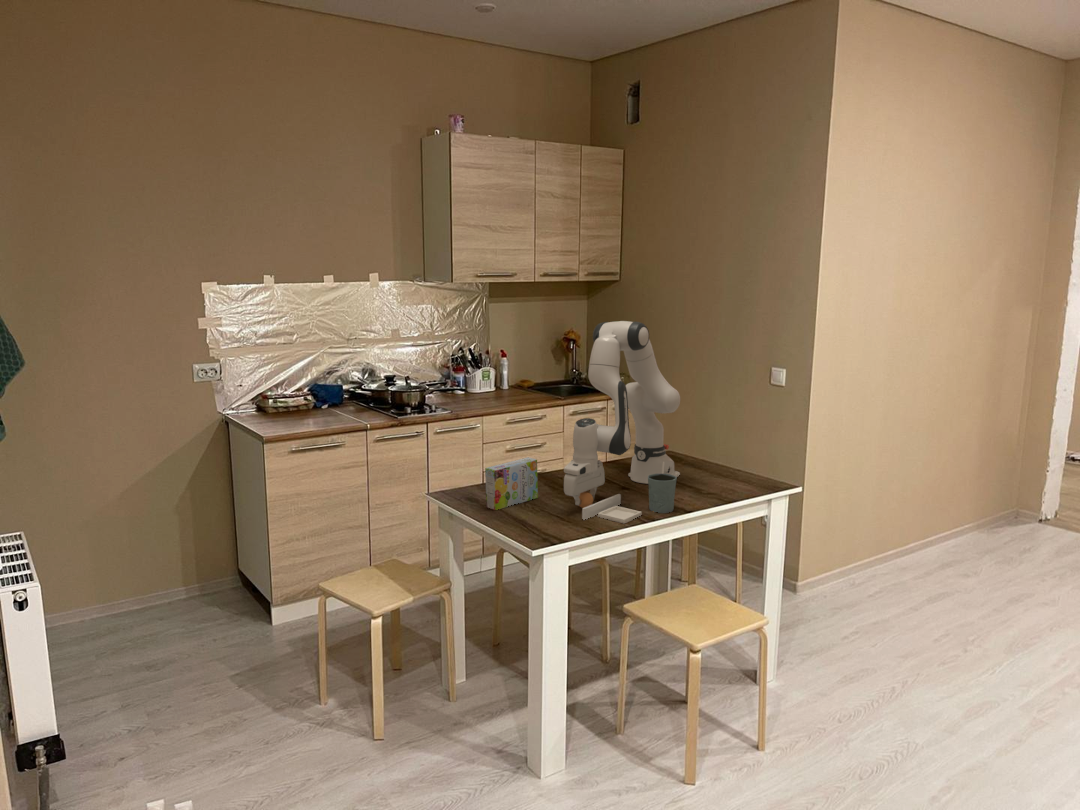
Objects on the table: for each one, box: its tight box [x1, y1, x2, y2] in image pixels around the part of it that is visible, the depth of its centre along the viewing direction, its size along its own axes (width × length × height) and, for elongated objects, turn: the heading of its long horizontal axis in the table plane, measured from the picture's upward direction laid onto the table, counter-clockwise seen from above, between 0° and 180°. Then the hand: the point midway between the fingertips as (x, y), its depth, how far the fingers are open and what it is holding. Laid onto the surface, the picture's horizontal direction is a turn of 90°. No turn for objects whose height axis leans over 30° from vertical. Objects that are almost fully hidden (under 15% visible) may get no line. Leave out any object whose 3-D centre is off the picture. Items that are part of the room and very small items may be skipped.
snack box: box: [484, 457, 539, 511], centre depth 294 cm, size 21×6×15 cm, turn 134°
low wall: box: [581, 493, 622, 521], centre depth 284 cm, size 22×1×4 cm, turn 141°
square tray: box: [597, 505, 643, 525], centre depth 280 cm, size 11×11×1 cm
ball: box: [578, 491, 594, 509], centre depth 289 cm, size 6×6×6 cm
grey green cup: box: [647, 474, 678, 514], centre depth 286 cm, size 10×10×12 cm
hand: (584, 502), depth 289 cm, fingers open, 6 cm apart
